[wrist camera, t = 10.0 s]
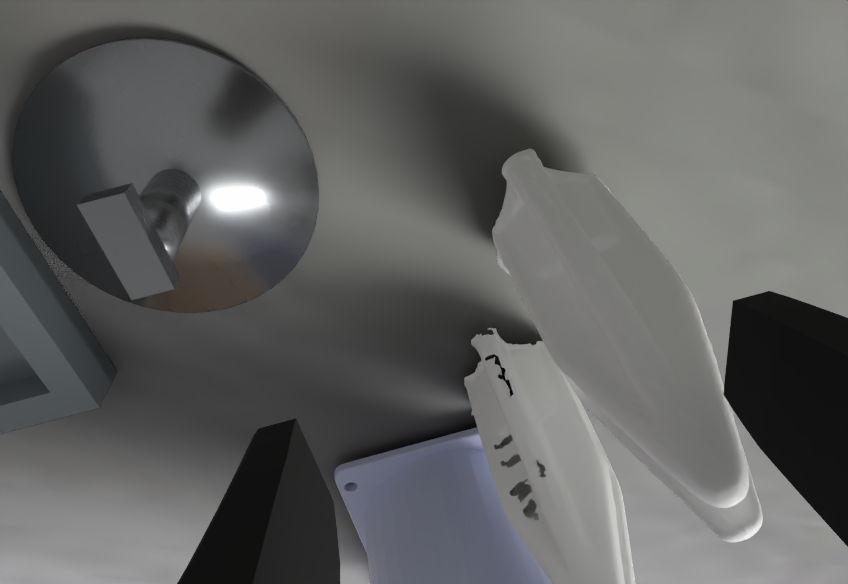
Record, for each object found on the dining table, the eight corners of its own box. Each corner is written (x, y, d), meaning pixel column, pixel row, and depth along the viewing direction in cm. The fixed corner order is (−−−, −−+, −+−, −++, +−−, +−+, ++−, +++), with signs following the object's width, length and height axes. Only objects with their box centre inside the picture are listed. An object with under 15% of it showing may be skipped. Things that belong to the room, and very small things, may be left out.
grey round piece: (349, 270, 19) (358, 353, 15) (109, 333, 18) (53, 434, 15) (264, 3, 14) (245, 22, 11) (-48, 80, 14) (-186, 128, 10)
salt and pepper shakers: (485, 130, 17) (697, 338, 8) (616, 131, 18) (956, 324, 8) (455, 429, 23) (553, 754, 14) (553, 421, 24) (711, 725, 14)
